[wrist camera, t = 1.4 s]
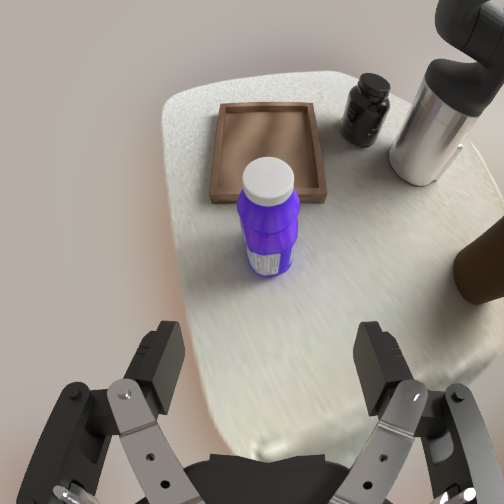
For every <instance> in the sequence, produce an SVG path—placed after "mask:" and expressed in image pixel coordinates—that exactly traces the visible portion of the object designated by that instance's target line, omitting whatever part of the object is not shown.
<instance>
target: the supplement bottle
mask: <svg viewBox="0 0 504 504" xmlns="http://www.w3.org/2000/svg"><path fill="white" fill-rule="evenodd" d="M389 91H390V84H389V83H388V82H387V81H386V79H384V78H382V77H381V76H379V75H376V74H372V73H364V74H362V75H361V76H360V79H359V81H358V84H357V85H356V86H354V87H353V88H352V89H351V90H350V92H349V95H348V99H347V103H346V107H345V110H344V114H343V118H342V122H341V126H340V128H341V132H342V134H343V136H344V137H345V138H346V139H347V140H348V141H350V142H351V143H353V144H356V145H359V146H369V145H372V144H373V143H374V142H375V141H376V140H377V138H378V135H379V133H380V131H381V128H382V126H383V124H384V121H385V119H386V117H387V114H388V112H389V109H390V101H389V99H388V95H389Z"/></svg>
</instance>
